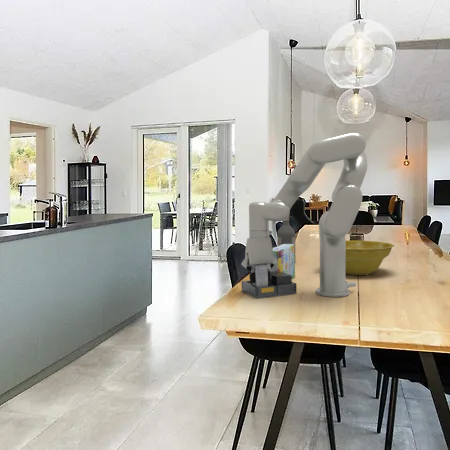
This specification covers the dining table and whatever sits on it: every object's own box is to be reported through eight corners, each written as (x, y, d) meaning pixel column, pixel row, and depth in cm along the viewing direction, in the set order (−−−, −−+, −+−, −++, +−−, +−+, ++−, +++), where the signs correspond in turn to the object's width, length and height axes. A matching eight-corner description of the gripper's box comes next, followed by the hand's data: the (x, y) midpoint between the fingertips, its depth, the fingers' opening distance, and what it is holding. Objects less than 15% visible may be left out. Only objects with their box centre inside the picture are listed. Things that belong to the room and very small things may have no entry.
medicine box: (268, 288, 176) (268, 265, 176) (256, 289, 176) (256, 266, 175) (263, 283, 184) (262, 262, 183) (251, 284, 183) (251, 262, 183)
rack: (279, 286, 191) (279, 269, 190) (296, 293, 179) (296, 275, 178) (241, 291, 184) (241, 273, 184) (256, 298, 172) (256, 280, 172)
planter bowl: (321, 265, 237) (321, 239, 236) (388, 267, 230) (389, 240, 229) (321, 278, 206) (321, 248, 204) (399, 280, 199) (399, 249, 198)
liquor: (294, 262, 249) (294, 205, 246) (295, 265, 240) (295, 206, 237) (277, 262, 250) (277, 205, 247) (277, 265, 241) (277, 206, 238)
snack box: (283, 276, 212) (283, 243, 211) (295, 277, 209) (295, 244, 208) (265, 286, 193) (265, 249, 192) (278, 287, 191) (278, 250, 189)
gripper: (274, 232, 185) (274, 277, 186) (234, 235, 178) (235, 282, 180) (283, 234, 178) (284, 281, 180) (242, 237, 171) (243, 285, 173)
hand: (259, 281), depth 180 cm, fingers closed on medicine box, 5 cm apart
